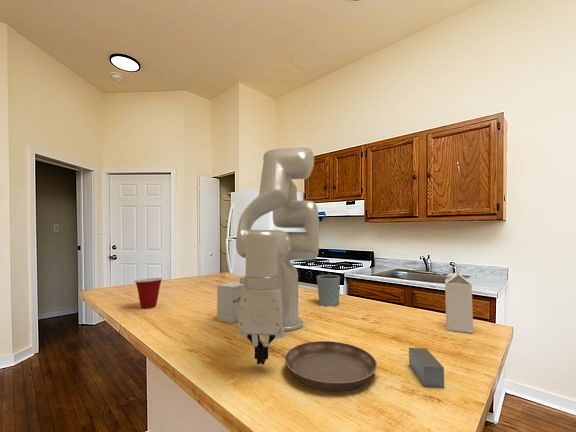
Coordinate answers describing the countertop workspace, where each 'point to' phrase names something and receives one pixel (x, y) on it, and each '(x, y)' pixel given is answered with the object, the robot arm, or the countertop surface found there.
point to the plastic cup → (148, 291)
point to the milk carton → (458, 303)
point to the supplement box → (228, 301)
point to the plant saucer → (330, 365)
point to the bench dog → (426, 367)
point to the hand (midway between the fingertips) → (261, 361)
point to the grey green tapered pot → (328, 290)
